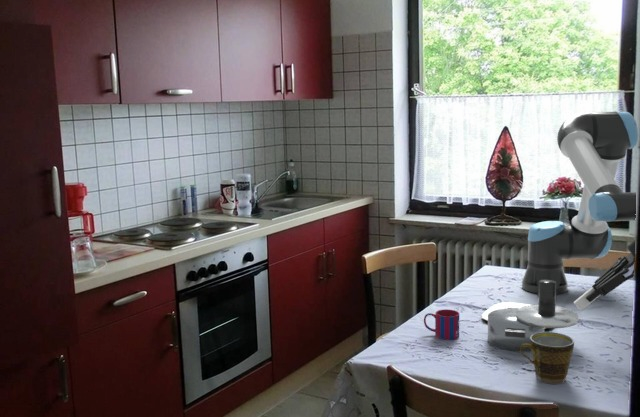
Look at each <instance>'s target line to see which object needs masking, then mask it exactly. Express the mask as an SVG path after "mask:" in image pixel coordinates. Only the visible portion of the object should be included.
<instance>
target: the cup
mask: <svg viewBox="0 0 640 417" xmlns="http://www.w3.org/2000/svg"><path fill="white" fill-rule="evenodd" d="M428 316H432V317H433V318H434V320H435V323H434V324H435V325H434V327H435V328H431V327H430V326H428V324H427V321H426V319H427V317H428ZM423 324H424V326H425V328H426V329H427V330H429V331H431V332H433V333H435V334H434V335H435V337H436V338H437V339H440V340H445V341H451V340H452V341H453V340H457V339H458V338H460V312H459V311H457V310H454V309H438V310H436V312H435V313H432V312H431V313H430V312H428V313H426V314H425V315H424V317H423Z"/></svg>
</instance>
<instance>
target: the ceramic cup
mask: <svg viewBox="0 0 640 417" xmlns="http://www.w3.org/2000/svg"><path fill="white" fill-rule="evenodd" d="M530 343H531V345H530V344H527V343H526V344H523V345H522V346H521V348H520V351H519V352H520V354H521V355H522V356H523V357H524V358H526V359H527V360H528V361H529V362H530V363H531V364H533V367H534V371H535V378H536V379H537V380H538V381H539V382H541V383H543V382H544V383H545V384H548V385H560V383H561V384H563V383H564V382H565V381H566V379H567V376H568V371H569V367H570V364H571V363H570V362H571V360H572V359H571V358H572V355H573V350H574V346H575V340H574V338H573V337H571V336H570V335H566V334H563V333H561V332H552V331H551V332H550V331H544V332H540V333H535V334H533V335H531V337H530ZM524 347H530V348H531V350H532V351H531V354H532V360H531V358H530V357H529V356H527V355H526V354H525V353H524V352H522V349H523V348H524ZM544 383H543V384H544Z"/></svg>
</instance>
